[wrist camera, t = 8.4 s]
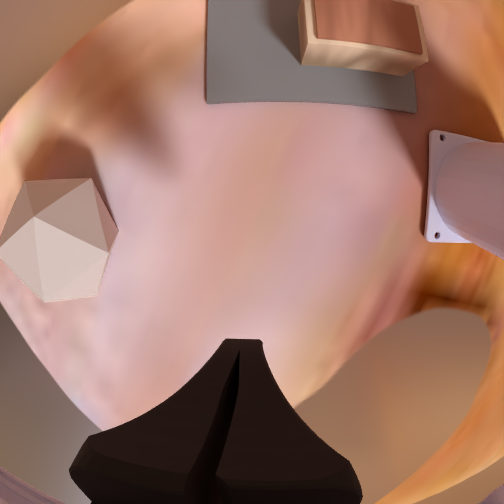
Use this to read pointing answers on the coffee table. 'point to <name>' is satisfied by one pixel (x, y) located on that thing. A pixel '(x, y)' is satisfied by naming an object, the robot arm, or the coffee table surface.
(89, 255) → the die
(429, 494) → the coffee table surface
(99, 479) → the robot arm
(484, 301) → the coffee table surface
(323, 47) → the maple block
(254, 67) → the slate mat
